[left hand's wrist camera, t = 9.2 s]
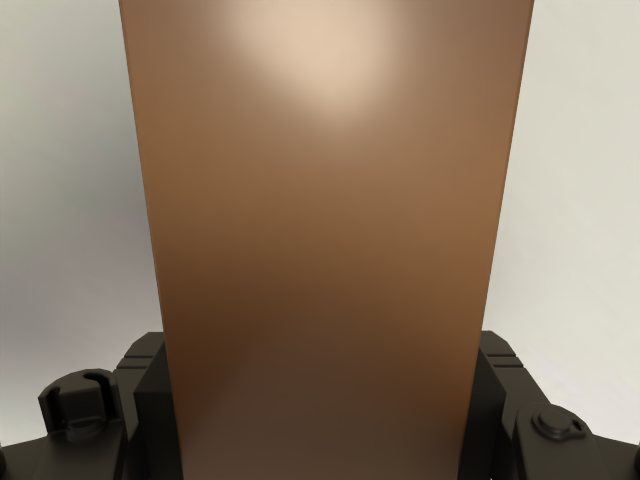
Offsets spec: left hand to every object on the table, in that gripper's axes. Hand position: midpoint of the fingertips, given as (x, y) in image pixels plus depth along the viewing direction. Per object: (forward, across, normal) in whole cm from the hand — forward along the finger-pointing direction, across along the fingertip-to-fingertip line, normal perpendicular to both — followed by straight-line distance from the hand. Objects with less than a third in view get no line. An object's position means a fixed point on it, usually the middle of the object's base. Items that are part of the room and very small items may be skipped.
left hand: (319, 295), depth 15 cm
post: (+1, 0, -33) cm, 33 cm away
